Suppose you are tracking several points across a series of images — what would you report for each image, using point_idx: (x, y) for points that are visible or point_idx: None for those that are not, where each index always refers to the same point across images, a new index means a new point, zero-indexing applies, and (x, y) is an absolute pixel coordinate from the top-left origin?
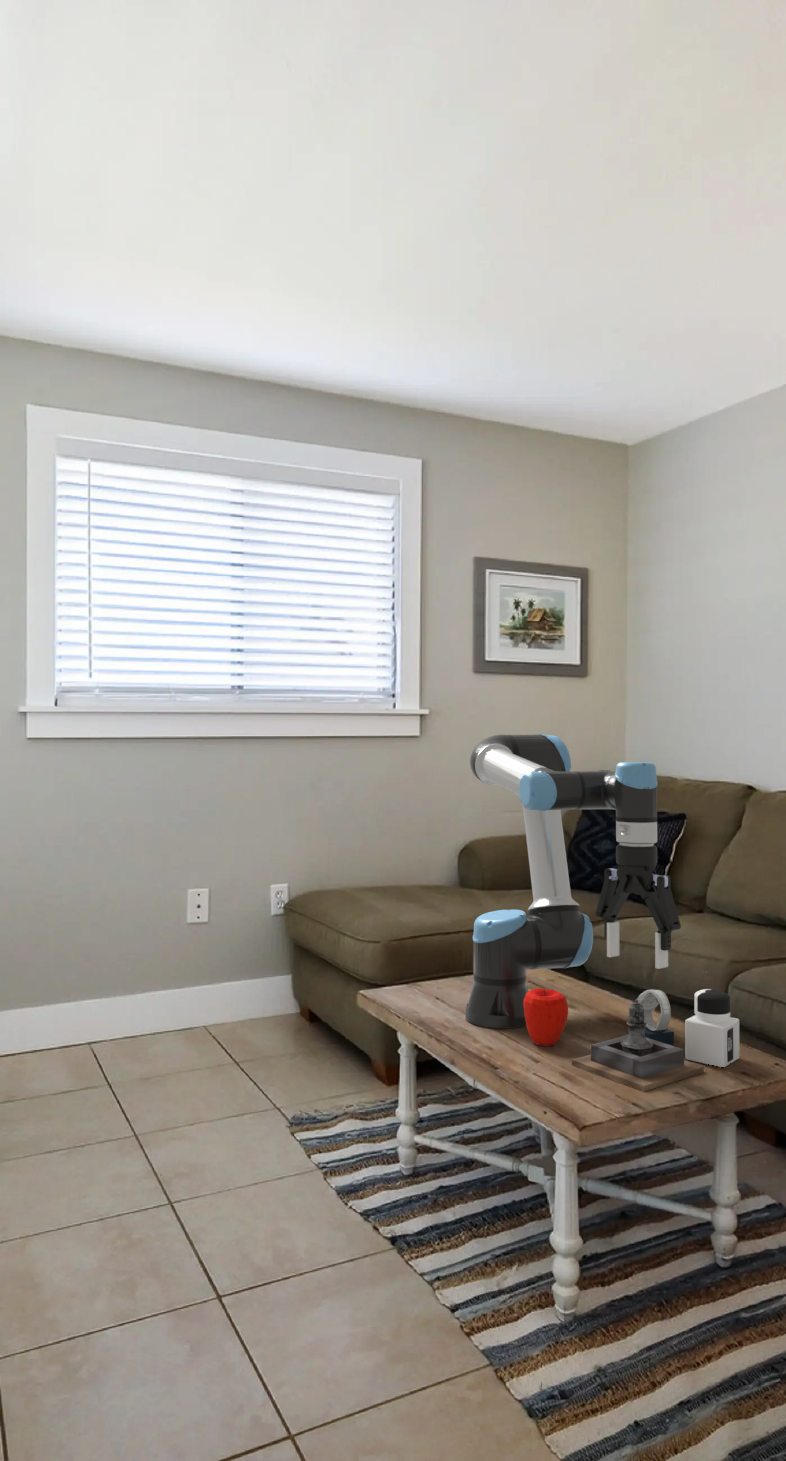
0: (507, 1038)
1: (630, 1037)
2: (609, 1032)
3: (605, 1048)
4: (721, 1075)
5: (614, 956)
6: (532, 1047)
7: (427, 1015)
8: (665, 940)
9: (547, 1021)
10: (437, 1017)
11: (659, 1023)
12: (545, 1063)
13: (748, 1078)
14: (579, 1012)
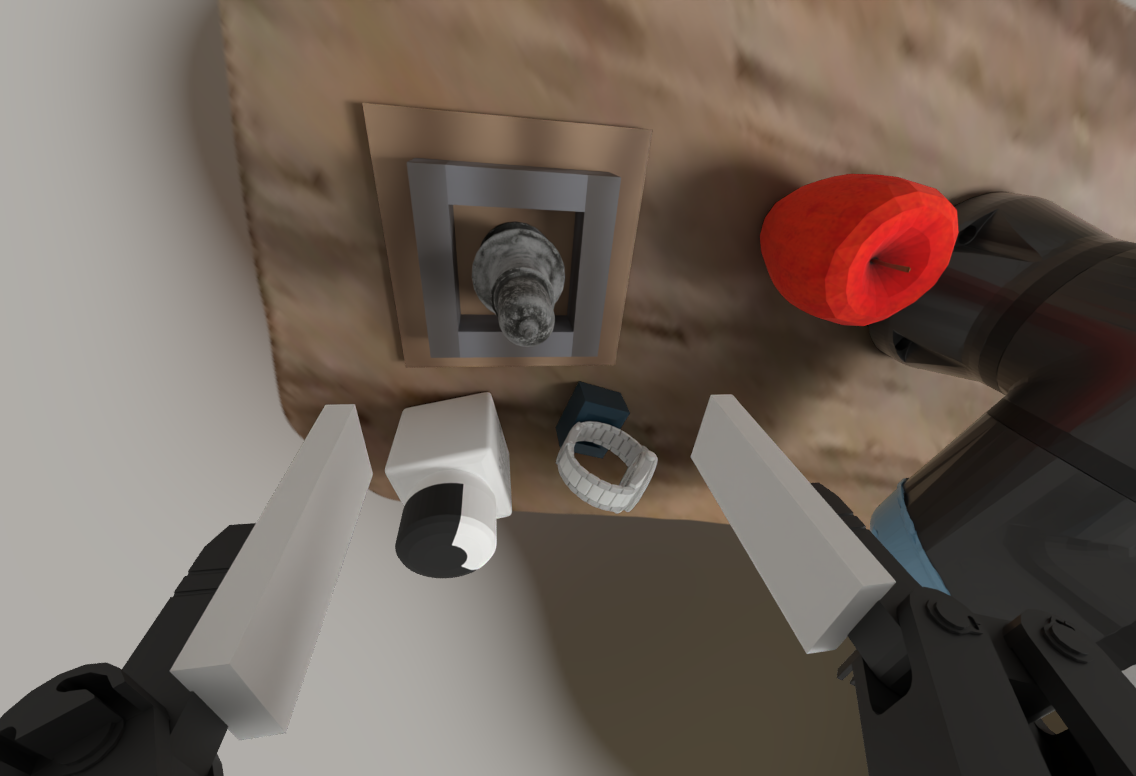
0: (889, 175)
1: (523, 259)
2: (701, 400)
3: (568, 184)
4: (372, 374)
5: (701, 427)
6: (803, 169)
7: None
8: (168, 615)
9: (812, 201)
10: (1116, 161)
11: (571, 430)
12: (714, 73)
13: (329, 402)
14: (804, 440)
